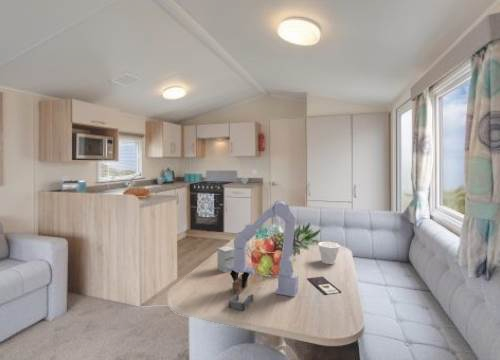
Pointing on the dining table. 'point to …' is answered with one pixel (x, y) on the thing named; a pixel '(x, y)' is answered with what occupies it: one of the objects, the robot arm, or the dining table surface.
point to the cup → (328, 252)
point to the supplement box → (225, 258)
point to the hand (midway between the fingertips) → (240, 286)
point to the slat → (238, 285)
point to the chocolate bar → (324, 285)
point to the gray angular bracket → (239, 305)
